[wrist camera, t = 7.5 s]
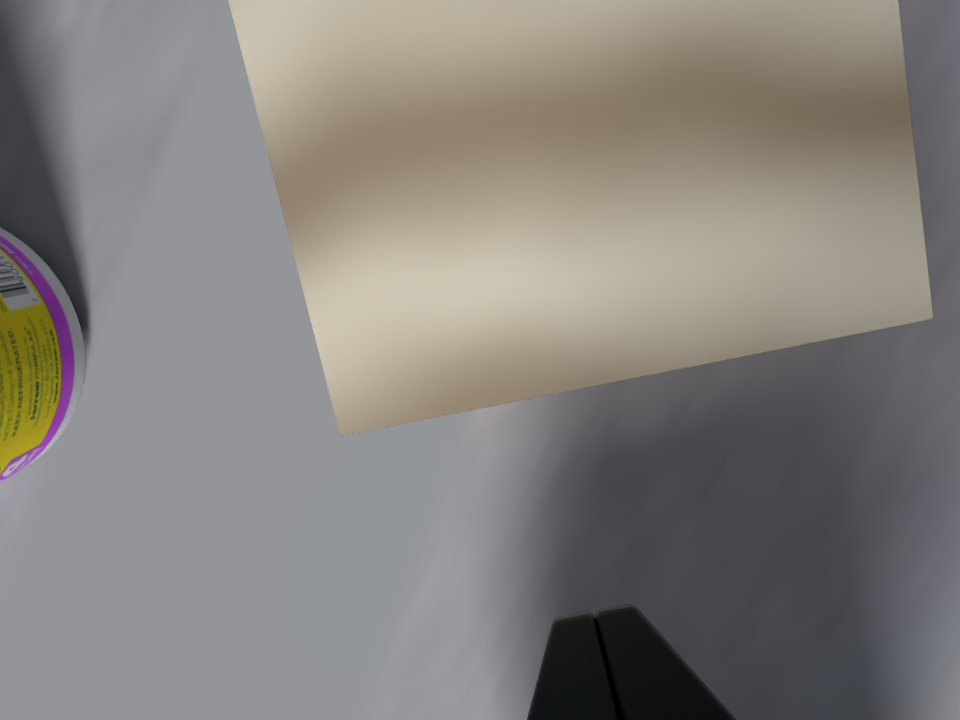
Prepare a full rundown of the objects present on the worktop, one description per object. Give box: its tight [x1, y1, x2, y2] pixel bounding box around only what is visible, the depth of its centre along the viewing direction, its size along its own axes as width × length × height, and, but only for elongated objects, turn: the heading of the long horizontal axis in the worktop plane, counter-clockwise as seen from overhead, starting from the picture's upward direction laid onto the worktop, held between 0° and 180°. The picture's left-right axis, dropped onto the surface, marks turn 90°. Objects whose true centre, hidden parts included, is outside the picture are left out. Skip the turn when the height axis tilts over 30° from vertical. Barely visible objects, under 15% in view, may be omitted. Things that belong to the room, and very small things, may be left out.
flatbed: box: [228, 0, 933, 436], centre depth 18 cm, size 10×13×2 cm
